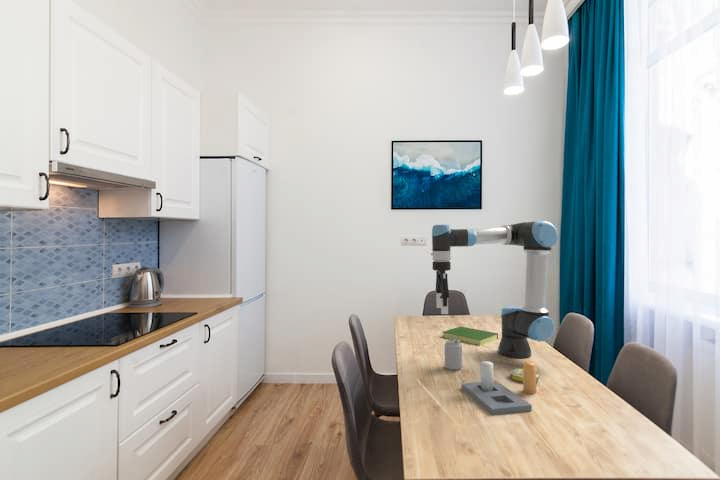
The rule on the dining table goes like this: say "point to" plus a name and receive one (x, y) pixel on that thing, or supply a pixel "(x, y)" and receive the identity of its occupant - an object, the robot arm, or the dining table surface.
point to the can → (453, 355)
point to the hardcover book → (470, 335)
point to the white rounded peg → (486, 376)
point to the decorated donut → (519, 375)
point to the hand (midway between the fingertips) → (442, 310)
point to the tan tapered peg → (529, 377)
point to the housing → (497, 398)
